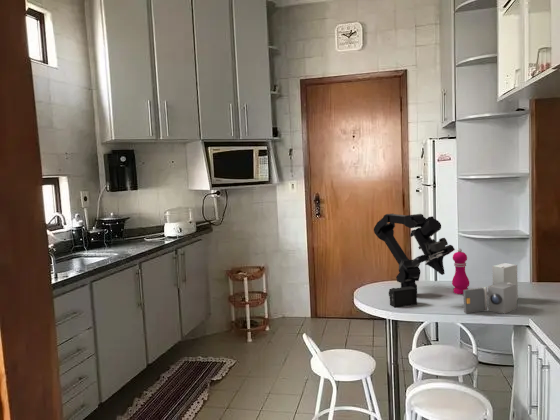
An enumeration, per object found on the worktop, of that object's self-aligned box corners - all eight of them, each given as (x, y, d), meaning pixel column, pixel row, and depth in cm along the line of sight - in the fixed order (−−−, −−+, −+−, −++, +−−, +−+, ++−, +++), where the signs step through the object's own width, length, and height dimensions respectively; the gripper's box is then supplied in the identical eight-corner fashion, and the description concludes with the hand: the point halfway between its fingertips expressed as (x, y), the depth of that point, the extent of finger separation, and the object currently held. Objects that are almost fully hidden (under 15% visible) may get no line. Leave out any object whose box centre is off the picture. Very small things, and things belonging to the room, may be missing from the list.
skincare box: (506, 297, 194) (505, 262, 193) (519, 300, 189) (518, 264, 188) (492, 300, 190) (491, 265, 189) (505, 303, 185) (504, 267, 184)
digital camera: (410, 301, 196) (409, 285, 196) (417, 304, 191) (416, 288, 190) (388, 304, 194) (387, 288, 193) (394, 307, 188) (393, 291, 188)
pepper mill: (466, 290, 208) (465, 246, 207) (471, 294, 201) (470, 249, 200) (450, 290, 209) (449, 247, 208) (454, 294, 202) (453, 250, 201)
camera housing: (486, 311, 176) (486, 285, 176) (501, 305, 183) (500, 280, 182) (502, 314, 171) (501, 287, 171) (516, 308, 178) (516, 282, 177)
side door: (486, 309, 178) (485, 287, 177) (488, 310, 176) (488, 287, 175) (464, 312, 176) (463, 289, 175) (466, 313, 174) (465, 290, 173)
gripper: (415, 240, 184) (435, 275, 178) (451, 227, 190) (471, 260, 185) (403, 250, 194) (421, 283, 188) (438, 237, 200) (456, 269, 194)
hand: (443, 274), depth 189 cm, fingers closed
